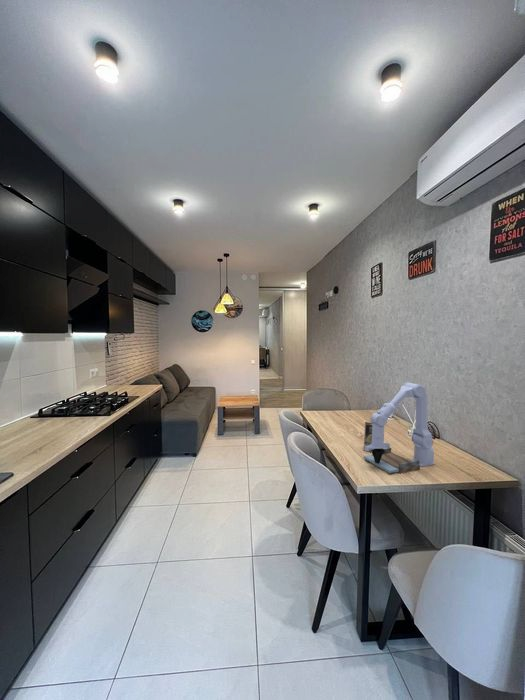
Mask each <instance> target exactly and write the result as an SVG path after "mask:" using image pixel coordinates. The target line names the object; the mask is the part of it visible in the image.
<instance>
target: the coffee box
mask: <svg viewBox="0 0 525 700" xmlns="http://www.w3.org/2000/svg"><path fill="white" fill-rule="evenodd" d="M363 435H364V439H363V450H364V452H369V453H372V451H371V450H369V451H367V450H365V446H368V445H370V444H371V443H372V422H369V421H365V422H364V433H363Z"/></svg>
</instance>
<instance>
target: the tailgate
mask: <svg viewBox="0 0 525 700" xmlns="http://www.w3.org/2000/svg"><path fill="white" fill-rule="evenodd" d="M363 459H364V460H365V461H367V462H370V463H371V464H373V465H375V466H377V467H378V468H380V469H382V470H383V471H385V472H387V473H389V474H393V473H399V469H398V468H396V467H394V466H392V465H390V464H389V463H387V462H385V461H383V460H380V463H376V462H375V460H374V456H373V455H372V454H371V455H370V454H369V455H363Z"/></svg>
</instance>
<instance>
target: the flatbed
mask: <svg viewBox="0 0 525 700" xmlns="http://www.w3.org/2000/svg"><path fill="white" fill-rule="evenodd" d="M383 449H384V450H385V452H384V453H383V455H382V457H381V460H383V461H385V462H387V463H389V464H390V465H392V466H394V467H396V468H398V469H399V472H398V473H399V474H405V473H410V472H415V471H420V469H421V466H420V465H419V461H418V460H416V461H410V460H408V459H407V458H405V457H403V456H400V455H398V454H396V453H395V452H392V447H390V448H383ZM371 455H373V454H371Z"/></svg>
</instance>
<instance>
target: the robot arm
mask: <svg viewBox="0 0 525 700" xmlns="http://www.w3.org/2000/svg"><path fill="white" fill-rule="evenodd" d="M406 398H413V399H414V400H415V428H414V429H413V430H412V434H411V441H412V442H413V445H414V446H413V448H414V449H413V459H410V460H409V461H416V460H418V461H419V466H420V467H427V466H433V465H435V464H436V463H435V459H434V458H435V451H434V448H433V446H434V439H433V436H432V435H433V434H432V433H431V432H430V431H429V429H428V395H427V393H426V387H425V386H423V385H422V384H418V383H414V382H413V383H412V382H409V381H407V382H405V383H403V384H402V385H401V386H400V390H399V391H398V392H397V393H396V395H395V396H394V397H393V398H392V400H391V401H389V402H385V403H383V405H382V407H380V409H379V410H377V412H374V413H373V414H371V416H370V418H369V419H370V423H372V443H371V444H370V445H368V446H365V450H367V451H369V450H371V451H372V452H371V453H372V454H373V456H374V460H375V462H376V463H380V460H381V457H382V455H383V453H384V452H385V450H384V449H383V448H391V444H390V443H388V442H385V426H386V425H387V423H388V420H389V418H390V417H391V416H392V415H393V414H394V412H396V407H397V406H398V405H399V404H401V403H402V402H403V401H404V400H406ZM372 454H371V455H372Z"/></svg>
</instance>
